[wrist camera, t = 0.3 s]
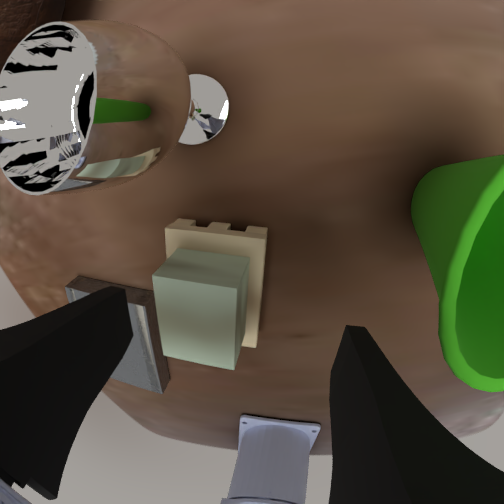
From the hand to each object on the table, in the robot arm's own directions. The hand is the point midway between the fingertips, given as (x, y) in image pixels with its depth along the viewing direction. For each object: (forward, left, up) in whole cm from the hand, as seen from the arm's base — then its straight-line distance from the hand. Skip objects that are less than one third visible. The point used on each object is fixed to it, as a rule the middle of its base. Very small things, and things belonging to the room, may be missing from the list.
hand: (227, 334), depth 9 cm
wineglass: (+7, +5, -10) cm, 13 cm away
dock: (-11, +12, -10) cm, 19 cm away
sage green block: (-4, +3, -10) cm, 11 cm away
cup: (+3, -11, -10) cm, 15 cm away
